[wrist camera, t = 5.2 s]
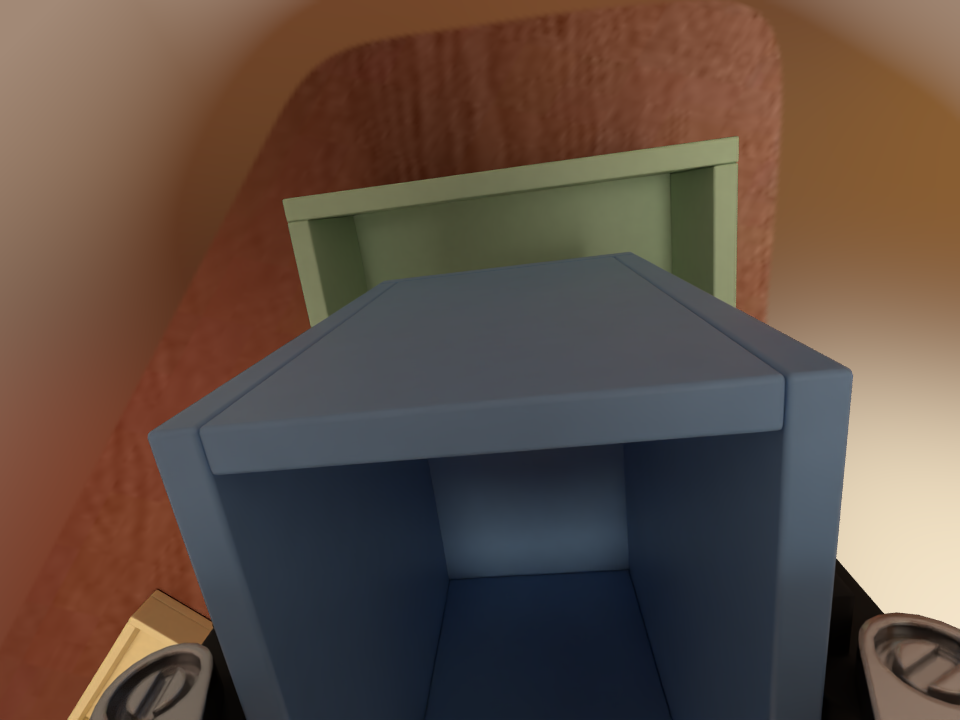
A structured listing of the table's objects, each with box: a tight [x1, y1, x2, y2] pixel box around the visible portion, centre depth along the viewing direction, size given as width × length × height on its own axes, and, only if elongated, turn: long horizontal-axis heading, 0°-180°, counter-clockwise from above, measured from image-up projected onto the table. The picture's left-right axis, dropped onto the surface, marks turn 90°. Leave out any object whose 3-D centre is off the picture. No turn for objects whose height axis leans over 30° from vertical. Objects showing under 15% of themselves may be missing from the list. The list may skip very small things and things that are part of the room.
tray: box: [68, 590, 213, 720], centre depth 30 cm, size 12×8×2 cm
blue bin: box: [148, 252, 853, 720], centre depth 10 cm, size 9×6×8 cm, turn 7°
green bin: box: [283, 136, 739, 328], centre depth 19 cm, size 14×12×8 cm
